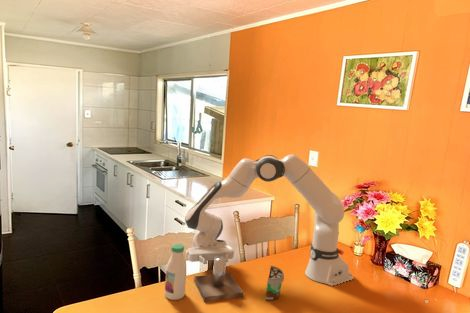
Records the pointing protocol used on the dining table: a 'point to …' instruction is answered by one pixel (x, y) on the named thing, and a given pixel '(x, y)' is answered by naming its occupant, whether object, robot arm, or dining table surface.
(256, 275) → the dining table surface
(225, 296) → the walnut board
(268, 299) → the food container
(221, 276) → the silver can
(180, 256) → the milk bottle
